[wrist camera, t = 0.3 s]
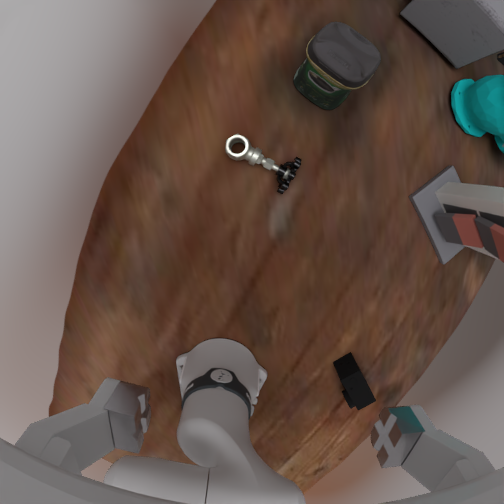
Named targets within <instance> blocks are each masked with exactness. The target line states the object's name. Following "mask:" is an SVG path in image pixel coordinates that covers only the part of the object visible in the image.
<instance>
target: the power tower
mask: <svg viewBox="0 0 504 504" xmlns="http://www.w3.org/2000/svg"><path fill="white" fill-rule="evenodd" d="M409 198H410V200H411V202H412V204H413V206H414V208H415V210H416V212H417V214H418V216H419V218H420V220H421V222H422V224H423V226H424V228H425V230H426V232H427V234H428V237H429V239H430V241H431V243H432V245H433V248H434V250H435V252H436V254H437V257H438V259H439V261H440V263H442V264H445V263H446V262H448V261H449V260H450V259H451V258H452V257H453V256H455V255H456V254H457V253H458V252H459V251H460V250H462V249H463V248H464V247H465V246H466V245H461V244H455V243H449V242H446V240H445V238H444V236H443V233H442V231H441V229H440V227H439V224H438V222H437V220H436V218H435V215H436V214H437V213H456V214H473V215H475V216H476V218H477V217H478V216H481V217H483V218H485V219H487V220H489V221H491V222H493V223H495V224H497V225H499V226H501V227H503V228H504V188H503V187H494V186H485V185H476V184H466V183H461V181H460V179H459V177H458V175H457V173H456V171H455V169H454V166H448V167H446V168H445V169H444V170H443V171H441V172H440V173H439V174H437V175H436V176H435V177H434V178H432V179H431V180H430V181H428V182H427V183H426V184H424V185H423V186H422V187H421V188H419V189H418V190H417V191H415V192H414V193H413V194H411V195H410V196H409ZM467 247H469V248H472V249H474V250H477V251H479V252H481V253H484V254H486V255H489V256H491V257H494V258H496V259H498V258H497V257H495V256H494V255H492V254H491V253H489V252H488V251H487V250H485V248H484V247H483V248H478V247H472V246H467ZM498 260H499V259H498Z"/></svg>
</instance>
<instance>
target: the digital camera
mask: <svg viewBox="0 0 504 504" xmlns="http://www.w3.org/2000/svg"><path fill="white" fill-rule="evenodd" d="M342 363H343V364H342ZM333 364H334V366H335V368H336V371H337V373H338V375H339V378H340V380H341V382H342V384H343V386H344V387H345V389H346V390H344V391H342V393H343V395H344V397H345V400H346V402H347V403H348V405H349V407H350V408H353V407H355V406H356V408H357V409H358V410H360V409H362V408H364V407H366V406H368V405H369V404H371V403H373V402H375V401H376V400H375V398H374V396H373V394H372V392H371V390H370V388H369V386H368V384H367V382H366V380H365V378H364V376H363V375H362V373H361V371H360V369H359V367H358V365H357V363H356V361H355V359H354V358H353V356H352V354H351V352H350V353H349V354H347V355H345V356H343V357H341V358H340V359H338V360H336V361H334V362H333ZM339 364H340V365H339ZM341 364H342V365H341Z"/></svg>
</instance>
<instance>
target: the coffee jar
mask: <svg viewBox="0 0 504 504" xmlns="http://www.w3.org/2000/svg"><path fill="white" fill-rule="evenodd" d="M306 54H307V59H306V60H305V61H304V62H303V64H302V65H301V66H300V67H299V69H298V70H297V72H296V74H295V76H294V85H295V87H296V88H297V89H298V90H299V91H300V92H301V93H302V94H303V95H304V96H305V97H306V98H308V99H309V100H310V101H312V102H313V103H314V104H316V105H317V106H319V107H321V108H323V109H326V110H332V109H335V108H336V107H338V106H339V105H340V104H341V103H342V102H343V101H344V100H345V99H346V98H347V96H348V95H349V93H350V92H351V90H352V89H358V88H360V87H362V86H363V85H365V84H366V83H367V82H368V81H369V80H370V78H371V77H372V76H373V74H374V73H375V71H376V69H377V68H378V66H379V64H380V61H381V56H380V53H379V51H378V50H377V48H376V47H375V46H374V45H373V44H372V43H371V42H370V41H368V40H367V39H366V38H365V37H364V36H362V35H361V34H360V33H358V32H357V31H355V30H354V29H353V28H351V27H350V26H348V25H346V24H344V23H341V22H331V23H329V24H328V25H326V26H325V27H324V28H323V29H321V30H320V31H319V32H318V33H317V34H316V35H315V36H314V37H313V38H312V39H311V40H310V42H309V43H308V46H307V49H306Z"/></svg>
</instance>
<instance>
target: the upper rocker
mask: <svg viewBox="0 0 504 504" xmlns="http://www.w3.org/2000/svg"><path fill="white" fill-rule="evenodd" d="M474 220H475V223H476V225H477V228H478V231H479V233H480V236H481V239H482V242H483V245H484V248H485V250H487V251H488V252H489V253H491V254H492V255H494V256H495V257H497V258H498V259H499V260H501V261H502V262H504V228H503V227H501V226H499V225H497V224H495V223H493V222H491V221H489V220H487V219H485V218H483V217H481V216H478V217H477V218H476V219H474Z"/></svg>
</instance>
